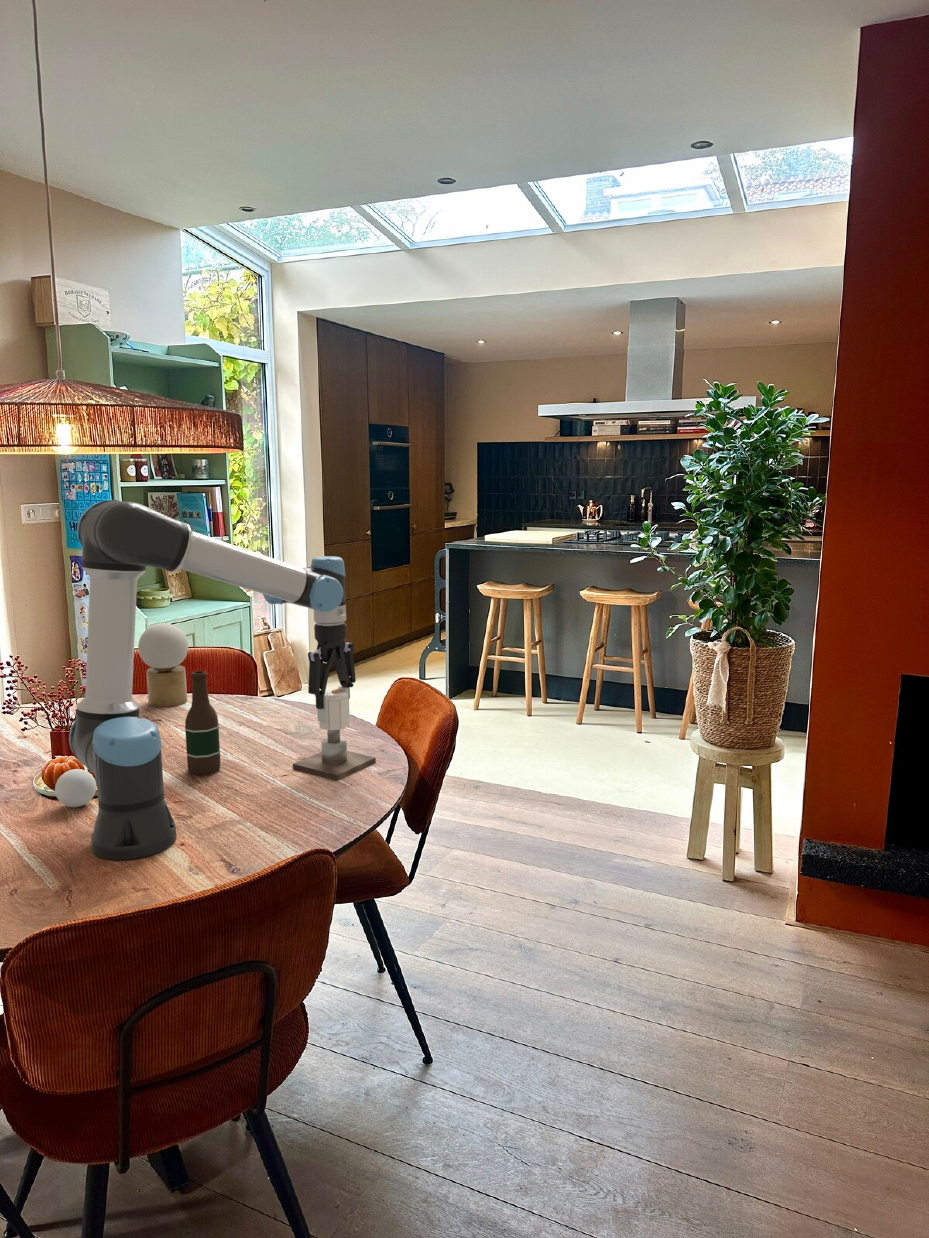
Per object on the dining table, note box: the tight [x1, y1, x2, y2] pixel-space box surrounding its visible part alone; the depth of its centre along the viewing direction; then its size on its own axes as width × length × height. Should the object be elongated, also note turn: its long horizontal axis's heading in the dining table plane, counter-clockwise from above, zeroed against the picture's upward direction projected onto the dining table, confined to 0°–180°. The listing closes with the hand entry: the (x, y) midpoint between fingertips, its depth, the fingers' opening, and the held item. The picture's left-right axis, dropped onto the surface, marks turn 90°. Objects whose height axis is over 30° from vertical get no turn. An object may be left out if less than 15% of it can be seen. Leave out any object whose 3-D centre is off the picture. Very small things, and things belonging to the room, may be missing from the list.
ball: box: [54, 768, 97, 808], centre depth 178 cm, size 8×8×8 cm
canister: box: [318, 687, 350, 731], centre depth 201 cm, size 7×7×9 cm
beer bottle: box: [184, 670, 221, 776], centre depth 198 cm, size 8×8×24 cm
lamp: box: [137, 622, 189, 708], centre depth 254 cm, size 15×14×25 cm
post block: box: [292, 729, 377, 781], centre depth 202 cm, size 14×14×11 cm
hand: (333, 717), depth 201 cm, fingers closed on canister, 7 cm apart
